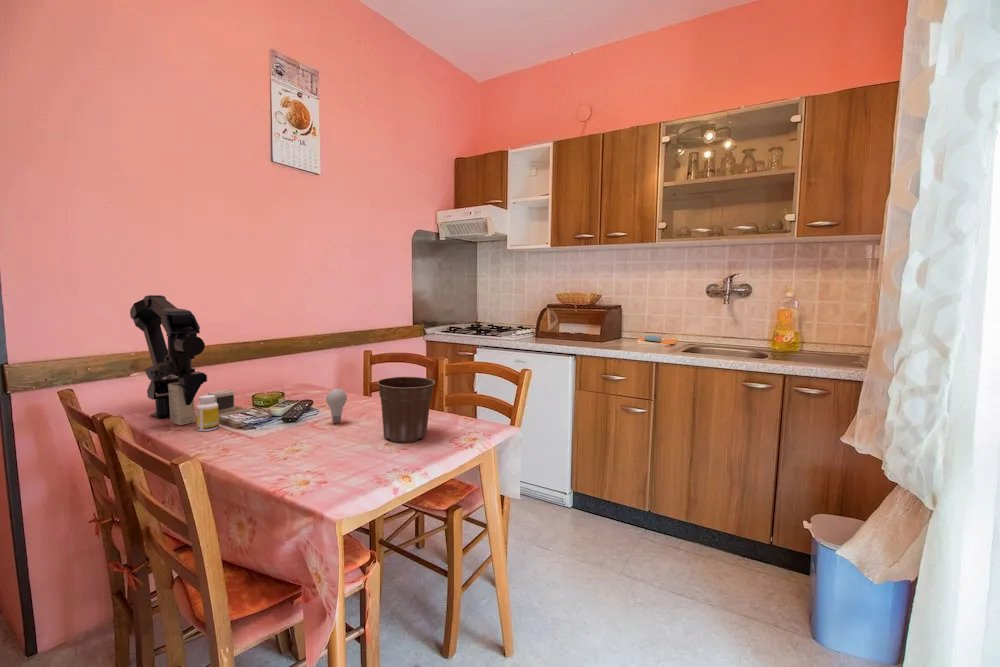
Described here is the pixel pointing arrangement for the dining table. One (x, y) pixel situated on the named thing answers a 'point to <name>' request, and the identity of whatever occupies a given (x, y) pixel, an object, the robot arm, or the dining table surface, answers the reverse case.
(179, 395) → the skincare box
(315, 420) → the dining table surface
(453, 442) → the dining table surface
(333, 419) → the lightbulb
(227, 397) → the grey open case
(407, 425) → the plant pot
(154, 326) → the robot arm
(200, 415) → the supplement bottle
